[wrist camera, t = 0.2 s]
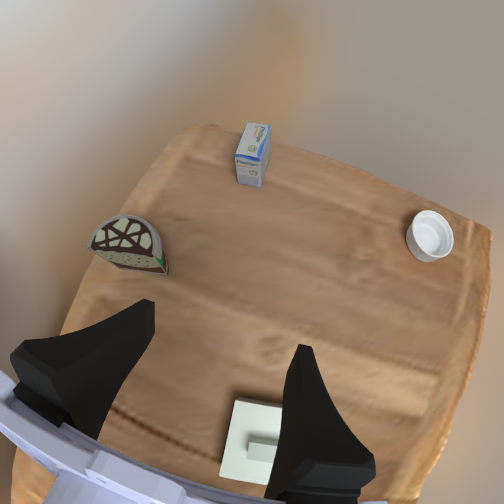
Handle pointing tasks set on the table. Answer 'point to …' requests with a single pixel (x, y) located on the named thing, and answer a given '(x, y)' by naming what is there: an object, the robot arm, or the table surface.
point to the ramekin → (429, 236)
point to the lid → (251, 442)
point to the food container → (130, 244)
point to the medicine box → (253, 154)
